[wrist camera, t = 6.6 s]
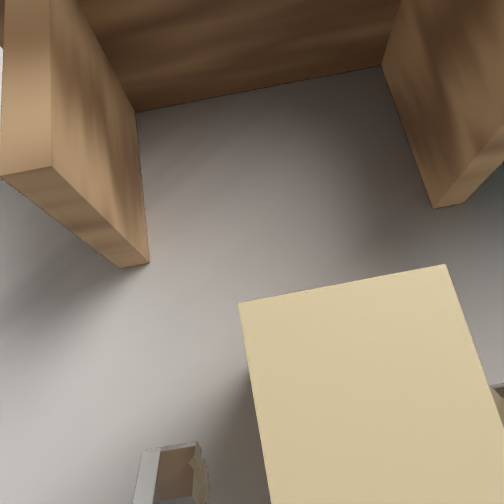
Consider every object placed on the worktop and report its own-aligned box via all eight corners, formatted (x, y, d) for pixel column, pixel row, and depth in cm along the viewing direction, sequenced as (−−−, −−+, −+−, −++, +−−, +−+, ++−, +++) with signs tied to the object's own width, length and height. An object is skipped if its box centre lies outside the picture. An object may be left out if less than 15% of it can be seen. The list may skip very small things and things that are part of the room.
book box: (398, 518, 16) (627, 765, 5) (294, 538, 16) (320, 821, 5) (351, 335, 18) (447, 260, 8) (260, 353, 18) (234, 300, 8)
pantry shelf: (677, 162, 20) (1487, -307, 6) (69, 278, 20) (-354, 50, 7) (581, 4, 23) (980, -511, 10) (64, 104, 23) (-219, -273, 10)
